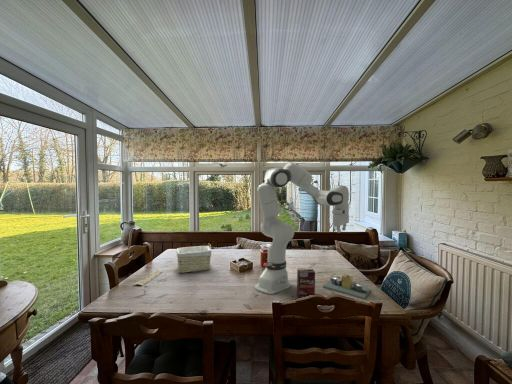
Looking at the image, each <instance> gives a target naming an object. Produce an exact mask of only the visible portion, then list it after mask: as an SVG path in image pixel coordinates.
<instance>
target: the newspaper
mask: <svg viewBox="0 0 512 384" xmlns="http://www.w3.org/2000/svg"><path fill="white" fill-rule="evenodd" d="M163 272H164V271H163V270H159V269H157V270H154V271H152V272H151V273H150V274H148V275H147V276H145V277H144V278H142V279H140V280H139V281H137V282H136V283H134V284H133V286H137V285H140V286H142V287H144V286H145V285H146V284H148V283H149V282H151V281H152V280H153V279H155V278H157V277H158V276H159V275H161V274H162V273H163Z"/></svg>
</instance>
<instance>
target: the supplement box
mask: <svg viewBox="0 0 512 384" xmlns="http://www.w3.org/2000/svg"><path fill="white" fill-rule="evenodd" d="M296 271H297V275H296V277H297V278H296V299H297V298H302V297H306V296H309V295H316V293H315V291H316V290H315V289H316V271H315V270H314V269H313V268H310V269H309V268H308V269H307V268H306V269H305V268H304V269H303V268H301V269H297V270H296Z"/></svg>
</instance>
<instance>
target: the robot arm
mask: <svg viewBox="0 0 512 384" xmlns="http://www.w3.org/2000/svg"><path fill="white" fill-rule="evenodd" d="M262 179H263V180H262V183H260V184H259V185H258V186H257V188H256V189H257V198H258V203H259V206H260V209H261V214H262V221H261V223H260V232H261V233H262V234H263V235H264V236H266V237H267V238H268V237H269V238H272V242H271V245H269V246H268V247H267V260H266V262H264V263H263V267H265V268H264V270H263V271H262V273H261V274H260V275H259V276H258V277H259V278H258V283H257V284H255V285H254V286H253V287H254V289H255V290H256V291H258V292H261V293H264V294H269V295H274V294H277V293H280V292H282V291H285V290H287V289H289V288H291V285H290V283H289V274H288V271H287V260H286V252H287V251H286V250H287V246H288V244H289V242H290V241H291V240H292V239H293V238H294V236H295V229H294V226H293V225H291V224H289V223H288V222H285V221H280V220H279V218H278V216H279V214H280V212H281V207H280V203H279V200H278V196H277V193H276V192H277V191H276V190H277V188H283V187H285V186H287V185H288V184H289V182H291V184H293V185H295V186H297V187H298V188H300V189H302V190H303V191H304V192H306V193H307V194H308V195H310V197H311V198H313V200H314V201H315V203H316V204H317V205H319V206H329V207H330V206H331V207H332V206H334V207H333V209H332V210H331V213H332V225H333V226H334V227H336V232H337V233H341V232H342V231H346V230H347V229H346V227H347V224H348V223H349V221H350V214H349V213H350V208H349V207H350V206H349V205H350V204H349V200H350V193H349V192H350V191H349V188H348V187H347V186H346V185H341V184H338V185H335V187H333V188H332V189H329V190H322V189H318V188H317V187H316V186H315V185H313V184H312V183H313V175H312V174H311V172H310V171H308V170H306V169H305V168H304V167H302V166H300V165H299V164H296V163H294V162H288V163H286V164H285V165H284V166H283V168H280V167H273V166H272V167H268V168H267V169H266V170H265V171H264V174H263V178H262ZM341 226H342V227H341Z"/></svg>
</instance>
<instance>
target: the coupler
mask: <svg viewBox="0 0 512 384" xmlns="http://www.w3.org/2000/svg"><path fill="white" fill-rule="evenodd" d="M341 279H342V288H346V289H350V290H351V289H352V284H353V282H354V278H353V275H349V274H345V273H344V274H343V275H341Z"/></svg>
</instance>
